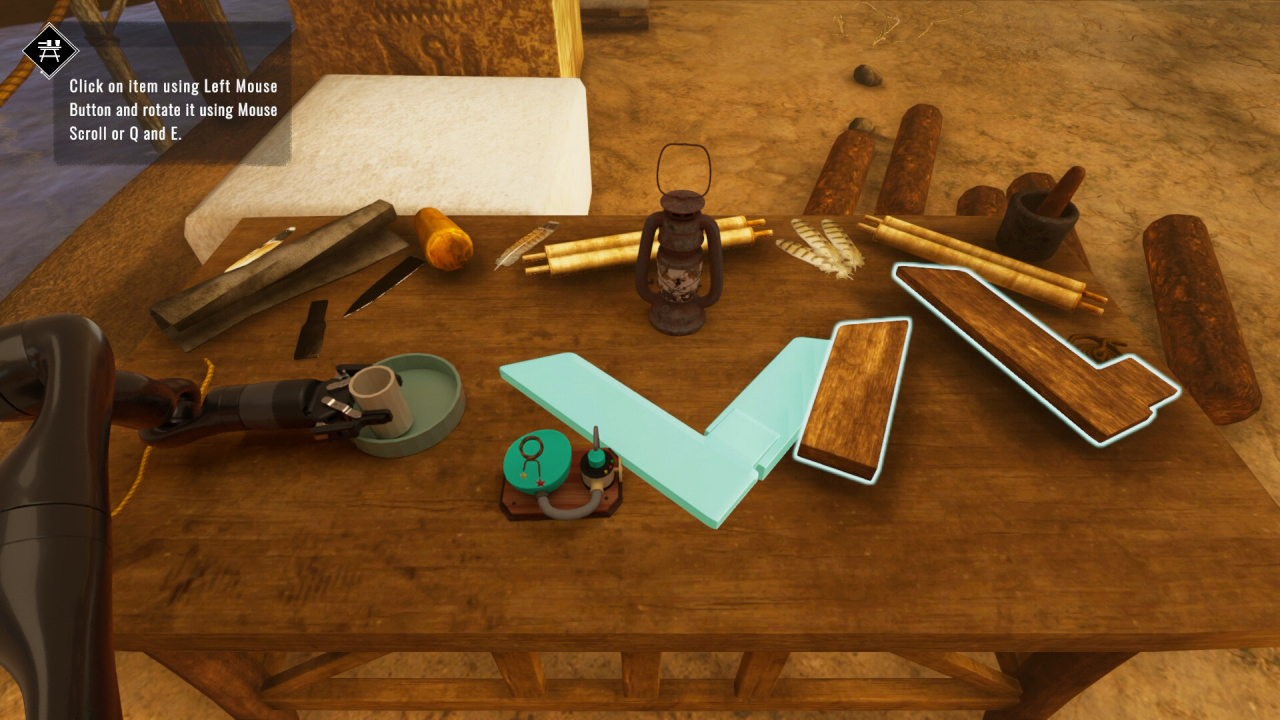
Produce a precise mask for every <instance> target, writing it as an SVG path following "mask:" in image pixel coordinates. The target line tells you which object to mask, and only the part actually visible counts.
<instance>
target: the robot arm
mask: <svg viewBox="0 0 1280 720" xmlns="http://www.w3.org/2000/svg"><path fill="white" fill-rule="evenodd" d="M371 366H373V364H372V363H339V364H337V365H336V366H335V367H334V368H335V370H336V373H335V375H334V377H333V378H330V379H327V380H320V379H316V378H312V377H310V378H294V379H281V380H266V381H262V382H255V383H245V384H231V385H220V386H216V387H214V388H212V389H210V390H209V391H208V392H207V393H206V395H205V397H204V399H203V401H202V395H203V394H202V391H201V388H200V386H199V385H198V384H197V383H196V382H195V381H193V380H191V379H188V378H183V377H163V378H156V379H155V378H153V377H150V376H147V375H145V374H142V373H139V372H135V371H130V370H123V369H122V370H121V369H117V368H116V360H115V355H114V352H113V349H112V347H111V343H110V341H109V339H108V337H107V336H106V334H105V332H104V331H103V330H102V328H101V327H100V326H99V325H98V324H96V322H95V321H93V320H91V319H90V318H88V317H86V316H84V315H81V314H77V313H69V312H66V313H64V312H63V313H52V314H47V315H46V314H45V315H43V316H37V317H33V318H28V319H23V320H20V321H16V322H12V323H8V324H4V325H0V423H19V422H31V421H32V424H31V425H30V426H29V428H28V429H27V431H26V433H25V434H23V436H22V437H21V438H20V440H19V441H18V442H17V443H16V444H15V445H14V446H13V448H12V449H10V451H9V452H8V453H7V454H6V455H5V456H4V457H3V459H1V461H0V667H2V669H4V671H6V673H8V674H9V675H10V676H11V677H12V679H13V680H14V681H15V683H16V684H17V686H18V688H19V691H20V693H21V695H22V701H23V708H24V709H23V710H24V717H25V720H124V713H123V705H122V699H121V694H120V686H119V680H118V672H117V664H116V654H115V653H116V652H115V636H114V633H115V632H114V612H113V606H114V605H113V567H114V549H113V548H114V546H113V543H114V542H113V517H112V516H113V515H112V505H111V492H110V467H109V463H110V462H109V461H110V457H109V456H110V440H111V439H110V438H111V430H112V426H116V427H121V428H125V429H130V430H135V431H137V434H138V435H137V436H138V438H139V440H140V441H141V442H142V444H144V445H146V446H148V447H151V448H154V449H160V450H163V449H164V450H166V449H167V450H169V449H174V448H175V449H176V448H179V447H183V446H186V445H190V444H193V443H196V442H198V441H201V440H204V439H207V438H210V437H213V436H217V435H220V434H226V433H235V432H247V431H264V432H272V431H273V432H274V431H288V430H301V429H310V430H309V431H310V433H311V434H312V436H313V438H314V439H315V440H316V442H317V443H319V444H323V443H330V442H336V441H344V440H350V439H351V438H357V437H358V436H359V435H360V430H361V429H362V428H364V427H366V426H367V425H379V424H380V425H381V424H386V423H388V422H391V421H392V420H393V415H392V413H391V411H390V410H389V409H380V410H366V411H364V412H363V413H361V412H360V411H357V410H355V409H353V405H354V403H355V400H354V398H353V396H352V395H351V393H350V390H349V383H350V380H351V379H352V378H353V376H354V375H355V374H356V373H358V372H359V371H361V370H362V369H364V368H367V367H371ZM394 374H395V376H396V378H397V381H398V383H399V385H400V387H401V386H402V384H403V381H402V378H401V376H400V375H398V374H396V373H394ZM337 421H338V422H337ZM340 421H341V422H342V423H340ZM335 422H337V423H335ZM345 430H348V431H345Z"/></svg>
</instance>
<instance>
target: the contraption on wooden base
mask: <svg viewBox="0 0 1280 720" xmlns="http://www.w3.org/2000/svg"><path fill="white" fill-rule="evenodd" d="M592 431H593V433H592V435H593V437H592V447H581V448H580V447H579V448H572V446H571V443H570V441H569V439H568V438H567V436H566V435H565V434H564V433H563V432H560V431H559V430H555V429H549V428H547V429H538V430H535V431H532V432H529V433H526V434H524V435H523V436H520V437H519V438H518V439H516V440H514V442H513V443H512V444H511V445H510V447H509V448H508V449H507V451H506V453H505V455H504V459H503V465H502V466H503V467H502V468H503V475H502V481H501V487H500V494H499V501H498V507H499V508H500V509H501V511H502V513H503V514H504V515H505V516H506V519H508V520H509V522H519V521H520V522H521V521H524V522H525V521H547V520H557V521H566V522H567V521H574V520H579V519H595V518H596V519H597V518H598V519H599V518H612V516H613V515H614V514H615V512H616V511H617V510H618V509H619V507H620V506H621V505H622V504H623V471H624V467H623V460H622V458H623V457H622V456H619V455H618V454H617V453H616V452H615V451H614V450H613V449H612V448H611V447H605V446H604V447H601V441H600V434H599V432H600V431H599V426H598V425H594V426H593V429H592Z"/></svg>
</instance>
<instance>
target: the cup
mask: <svg viewBox="0 0 1280 720" xmlns="http://www.w3.org/2000/svg"><path fill="white" fill-rule="evenodd" d="M349 390H350V393H351V395H352V396H353V398H354V400H355V402H356V404H357V405H358V407H359V409H360V411H361V412H362V413H363V412H364V411H366V410H380V409H389V410H390V411H391V413H392V415H393V420H392V421H391V422H388V423H386V424H381V425H380V424H379V425H369V427H370V429H371V430H372V431H373V433H374V434H375V435H376V436H377V437H379V438H383V439H391V438H395V437H398V436H400V435H402V434H404V433H405V432H406V431H407V430H408V429H409V428H410V427H411V425H412V423H413V414H412V412H411V409H410V407H409V405H408V402H407V400H406V398H405V396H404V394H403V392H402V389H401V387H400V385H399V383H398V381H397V378H396V376H395V374H394V372H393V371H392V370H391V369H390V368H389V367H386V366H382V365H378V366H371V367H367V368H364V369H362V370H361V371H359V372H358V373H356V374H355V375H354V376H353V378H352V379H351V380H350V383H349Z"/></svg>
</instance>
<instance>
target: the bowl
mask: <svg viewBox="0 0 1280 720" xmlns="http://www.w3.org/2000/svg"><path fill="white" fill-rule="evenodd" d="M372 365H373V366H378V365H382V366H386V367H389V368H390V369H391V370H392V371H393V372H394V373H396V374H398V375H400V376H401V378H402V381H403V384H402V386H401V389H402V392H403V394H404V396H405V398H406V400H407V402H408V405H409V407H410V409H411V412H412V414H413V423H412V425H411V427H410V428H409V429H408V430H407V431H406V432H405V433H404V434H402V435H400V436H398V437H395V438H391V439H383V438H379V437H377V436H376V435H375V434H374V433H373V431H372V430H371V429H370V427H369V425H367V426H366V427H364V428H362V429H361V430H360V435H359V436H358V437H357V438H351V439H349V440H350V441H351V443H352V444H353V445H354V446H355V447H356V448H357V449H359V450H360V451H362V452H363V453H365V454H368V455H369V456H373V457H378V458H385V459H392V458H394V459H395V458H403V457H408V456H413V455H416V454H419V453H421V452H423V451H426V450H429V449H430V448H432V447H434V446H436V445H437V444H438V443H441V441H443V440H444V439H446V438H447V437H448V436H449V435H450V434H451V433H452V432H453V431H454V430H455V429H456V427H457V426H458V424H459V423H460V422H461V420H462V419H463V416H464V413H465V410H466V407H467V394H466V391H465V386H464V384H463V381H462V378H461V374H460V373H459V371H458V370H457V368H456V367H455V365H454V364H453V363H452V362H450V361H448V360H447V359H446V358H444V357H441V356H438V355H436V354H432V353H425V352H410V353H409V352H408V353H407V352H406V353H402V354H401V353H400V354H397V355H393V356H390V357H387V358H384V359H382V360H380V361H377V362H375V363H373V364H372ZM353 409H355V410H357V411H360V409H359V407H358V405H357V404H356V402H355V403H354V405H353ZM360 412H361V411H360ZM361 413H362V412H361ZM339 423H342V422H341V421H339ZM345 431H348V430H345Z"/></svg>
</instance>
